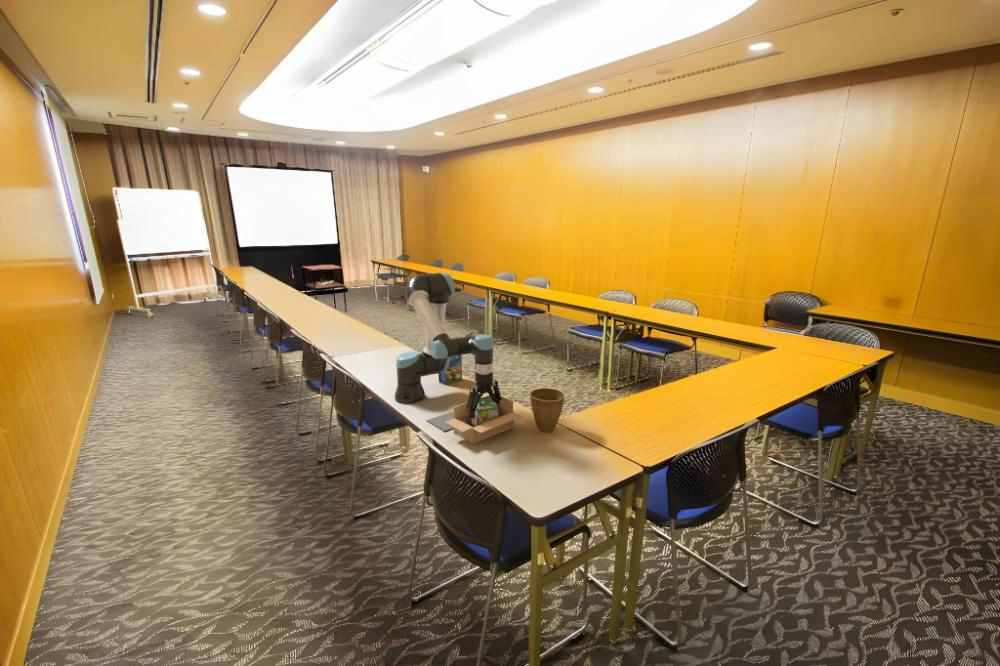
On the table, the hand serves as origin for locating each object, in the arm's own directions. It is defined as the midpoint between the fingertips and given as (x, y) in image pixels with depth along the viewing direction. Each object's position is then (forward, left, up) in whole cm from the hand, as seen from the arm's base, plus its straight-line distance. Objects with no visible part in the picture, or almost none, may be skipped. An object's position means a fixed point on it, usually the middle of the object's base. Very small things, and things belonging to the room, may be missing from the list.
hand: (484, 420), depth 188 cm
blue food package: (-59, +25, -5) cm, 64 cm away
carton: (+2, -2, -4) cm, 6 cm away
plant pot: (+17, +21, -5) cm, 27 cm away
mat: (-17, -7, -4) cm, 19 cm away
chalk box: (0, 0, -5) cm, 5 cm away
